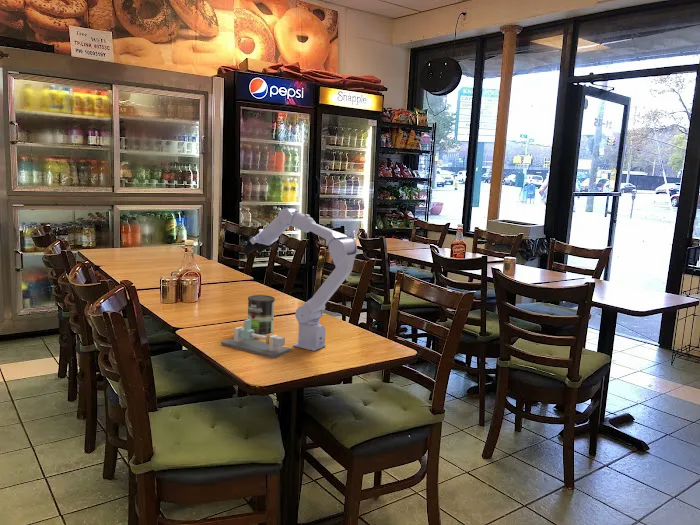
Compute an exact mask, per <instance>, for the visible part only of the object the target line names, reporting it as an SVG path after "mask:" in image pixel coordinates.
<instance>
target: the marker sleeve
mask: <svg viewBox="0 0 700 525" xmlns="http://www.w3.org/2000/svg"><path fill="white" fill-rule="evenodd" d="M243 325H244V326H243V327H244V329H241V333H240V338H244V339H248V340H249V339H255V337H252V336H250V333H254V334H255V330H253V329H251V319H248V318H247V319H245V320H244V322H243Z"/></svg>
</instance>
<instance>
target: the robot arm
mask: <svg viewBox="0 0 700 525" xmlns="http://www.w3.org/2000/svg"><path fill="white" fill-rule="evenodd" d="M291 226H292V227H293V228H295V229H297V230H299V231H302V232H304V233H305V234H307V233H310V232H311V233H313V234H315V235H317V236H319V237H321V238H322V239H324V240H325V246H326V247H328V253H329V255H330V257H331V260H332V261H333V264H334V266H335V268H334V269H333V270H332V272H331V273H330V274H329V275H328V277H327V278H326V279H325V280H324V282H323V283H322V284H321V285H320V287H319V288H318V289H317V291H316V292H315V293H314V294H313V296H312V297H311V298H310V299H308V300H307V301H305V302H304V303H303V304H302V305H301V306H298V307H297V309H295V313H294V314H295V319H296V321H298V322H297V323H298V337H297V342H296V343H293V345H292V346H293V347H297V348H301V349H303V350H304V349H305V350H309V351H313V352H315V351H317V350H319V349H322V348H324V347H326V346H327V345H326V328H325V326H324V325H322V324H320V323H319V322H320V318H322V317H323V314H324V311H325V309H326V304H327V302H328V301H329V300H330V299H331V297H333V295H334V294H335V293H336V292H337V290H338V289H339V287H341V285H342V284H343V283H344V282H345V281H346V279H347V278H348V277H349V275H350V274H351V273H352V271H353V268H354V263H355V259H356V257H357V254H358V252H359V251H358V246H357V242H356V241H355V239H353V238H351V237H348V236H347V235H346V234H344V233H341V232H339V231H336V230H333V229H331V228H329V227H326V226H323V225H320V224H318V223H315V221H314V218H313V217H311V215H310V214H307V213H302V212H299V210H298V209H296V208H293V207H292V208H291V207H290V208H286V207H285V208H281V209H280V210H279V211H278V214H277V216H276V217H275V218H273V220H272V221H271V222H269V224H268V225H267V226H265V228H264V229H263V228H260V229H258V232H259V233H257V234H256V235H255V236H254V235H250V236H249V237H248V238H247V243H246V245H245V247H244V249H243V253H244V254H245V255H246V256H247V255H249V254H251V253H252V252H254V251H257V253H262V252H264V251H265V250H268V249H271V248H273V247H275V246H276V243H275V242H276V241H278V240H279V239H280V238H279V237H280V236H281V235H282V234H283V233H284V232H285V231H286V230H287V229H288V228H290V227H291Z"/></svg>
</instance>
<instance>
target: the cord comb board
mask: <svg viewBox="0 0 700 525" xmlns="http://www.w3.org/2000/svg"><path fill="white" fill-rule="evenodd" d="M241 329H244V326H241V325H240V326H237V327H234V329H233V333H234V334H233V335H234V336H233V337H232V338H230V339H225V340H222V341H220V345H221V344H222V346H225V345H226V347H229V346H230V348H232V347H233V348H232V349H236V348H237V349H236V350H240V349H241V351H244V350H245V351H244V352H248V353H252V354H255V355H260V356H263V357H266V358H270V357H271V359H276V358H278V357H280V355H281V356H282V355H286V354H288V353H290V352H292V348H290V347H286V346H285V343H286V337H285V336H284V337H283V336H279V335H278V334H274V333H273V334H271V333H269V334H268V335H267V336H262V335H258V334H254V333H250V336H252V337H254V338H252V339H249V340H248V339H244V338H240V333H241ZM255 338H257V339H255ZM258 339H261V340H258ZM262 340H265V341H262Z"/></svg>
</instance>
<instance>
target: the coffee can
mask: <svg viewBox="0 0 700 525" xmlns="http://www.w3.org/2000/svg"><path fill="white" fill-rule="evenodd" d="M247 300H248V302H247V303H248V304H247V319H251V329H253V330H255V334H258V335H262V336H267V335H268V334H269V333H271V334H274V321H275V320H274V318H275V300H276V298H275V297H274V296H271V295H266V294H265V295H263V294H255V295H250V296H248V297H247Z"/></svg>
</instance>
